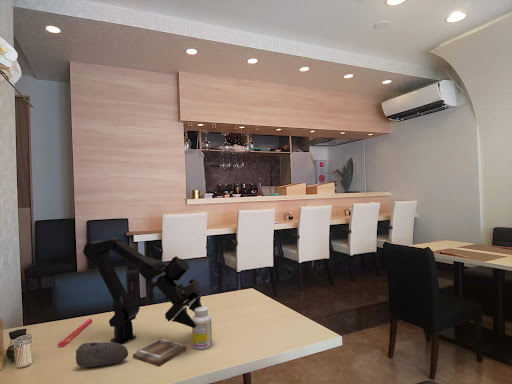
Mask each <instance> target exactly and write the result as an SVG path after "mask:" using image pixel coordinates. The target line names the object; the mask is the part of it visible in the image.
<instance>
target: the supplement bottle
mask: <svg viewBox="0 0 512 384" xmlns="http://www.w3.org/2000/svg"><path fill="white" fill-rule="evenodd" d="M194 314H195V315H193V317H191V319H192V320H193V321H194V323H195V324H196V327H195V328H192V327H191V329H192V332H191V333H192V347H193V348H194V349H196V350H206V349H208V348H210V347H211V346H212V345H213V334H212V333H213V331H212V316H211V315H210V314H209V307H207V306H202V307H197V308H195V312H194Z"/></svg>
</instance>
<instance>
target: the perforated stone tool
mask: <svg viewBox="0 0 512 384" xmlns="http://www.w3.org/2000/svg"><path fill="white" fill-rule="evenodd" d="M128 355H129V351H128V348H127V347H126V346H124V345H123V344H119V343H116V342H110V341H109V342H106V341H101V342H98V341H97V342H94V341H93V342H85V343H82V344H81V345H79V346H78V348H77V349H76V350H75V362H76V364H77V366H79V367H81V368H96V367H104V366H110V365H115V364H118V363H121V362H123V361H125V360H126V359H127V357H128Z"/></svg>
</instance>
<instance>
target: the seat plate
mask: <svg viewBox="0 0 512 384" xmlns="http://www.w3.org/2000/svg"><path fill="white" fill-rule="evenodd" d="M185 351H187V346H186V345H183V343H181V342H180V343H179V342H176V341H173V340H168V339H166V338H165V339H164V338H162V337H160V338H158V339H156V340H155V341H153V342H151V343H149V344H146V345H145V346H143V347H141V348H139V349H137V350H136V352H135V353H133V354H132V358H133V359H135V360H139V361H142V362H144V363H148V364H150V365H154V366H157V367H160V366H163V365H164V364H166V363H168V362H169V361H171V360H173V359H174V358H175V357H177V356H179V355H181V354H182V353H184V352H185Z"/></svg>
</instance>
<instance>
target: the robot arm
mask: <svg viewBox="0 0 512 384" xmlns="http://www.w3.org/2000/svg"><path fill="white" fill-rule="evenodd" d="M110 251H112V252H114V253H115V254H117V255H118V256H120V257H121V258H122V259H124V260H125V261H127V262H129V263H130V264H131V265H133V267H135V268H136V270H137V272H138V273H139V274H140V275H141V277H143V278H144V279H145V280H147V281H149V280H153V279H156V278H157V279H156V280H153V281H151V283H150V284H151V285H150V290H151V291H152V290H154V289H156V288H157V289H158V290H159V291H160V292H161V294H163V296H164V297H165V298H164V301H165V302H168V301H169V302H170V303H171V304H172V305H171V306H170V307H169V309H168V310H167V311H166V312H165V313H164V316H165V317H164V318H165V320H166V321H168V322H170V321H171V322H174V323H177V324H178V323H179V324H181V325H184V326H186V327H190V328H191V329H192V328H195V327H196V324H195V323H194V321H193V320H192V317H191V316H190V314H189V313H188V310H190V311H192V312H195V308H197V307H203V305H202V303H201V297H202V292H201V291H200V286H199V285H200V281H198V280H197V279H195V278H192V279H190V280H189V281H188V284H186V285H183V284H178V281H180V280H181V278H182V277H183V276H184V275H185V274H186V273H187V272H188V271H189V270H190V265H189V263H188V261H186V260H184V259H181V258H179V257H178V256H177V255H176V256H174V257H173V258H171V260H170V262H169V263H167V264H165V263H163V262H162V261H160V260H157V259H155V258H153V257H149V256H146V255H143V254H142V253H140V252H139V251H138V250H136V249H135V248H134V247H132V246H130V245H129V244H128V243H126V242H124V241H123V240H122V239H121V238H120V237H119V238H118V237H115V238H114V237H113V238H110V239H108V240H96V241H92V242H87V243H86V244H85V245H84V247H83V250H82V252H83V255H84V256H85V257H86V259H87V260H88V262H89V263H90V264H93V265H94V266H95V267H96V268H97V271H98V273H99V274H100V276H101V278H102V280H103V282H104V284H105V286H106V288H107V290H108V292H109V294H110V296H111V298H112V300H113V304H112V305H113V307H112V309H113V313H114V314H113V316H111V318H110V319H109V320H108V324H109V326H110V327H112V328H113V329H114V330H113V334H114V335H113V336H114V337H113V338H111V339H110V341H111V342H112V343H117V344H121V345H123V344H126V343H127V342H130V341H131V340H134V339H136V338H137V336H136V335H135V334H134V329H133V328H134V327H133V322H132V321H134V320H136V316H137V315H138V313H139V311H140V305H139V304H140V302H139V301H138V299H137V297H136V295H135V294H134V293H133V294H129V293H127V291H126V289H125V287H124V286H123V283H122V282H121V279H120V278H119V275H118V274H117V271H116V270H115V268H114V266H113V264H112V262H111V260H110V258H111V257H110V254H111V252H110ZM176 281H177V282H176ZM187 307H188V308H187Z"/></svg>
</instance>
